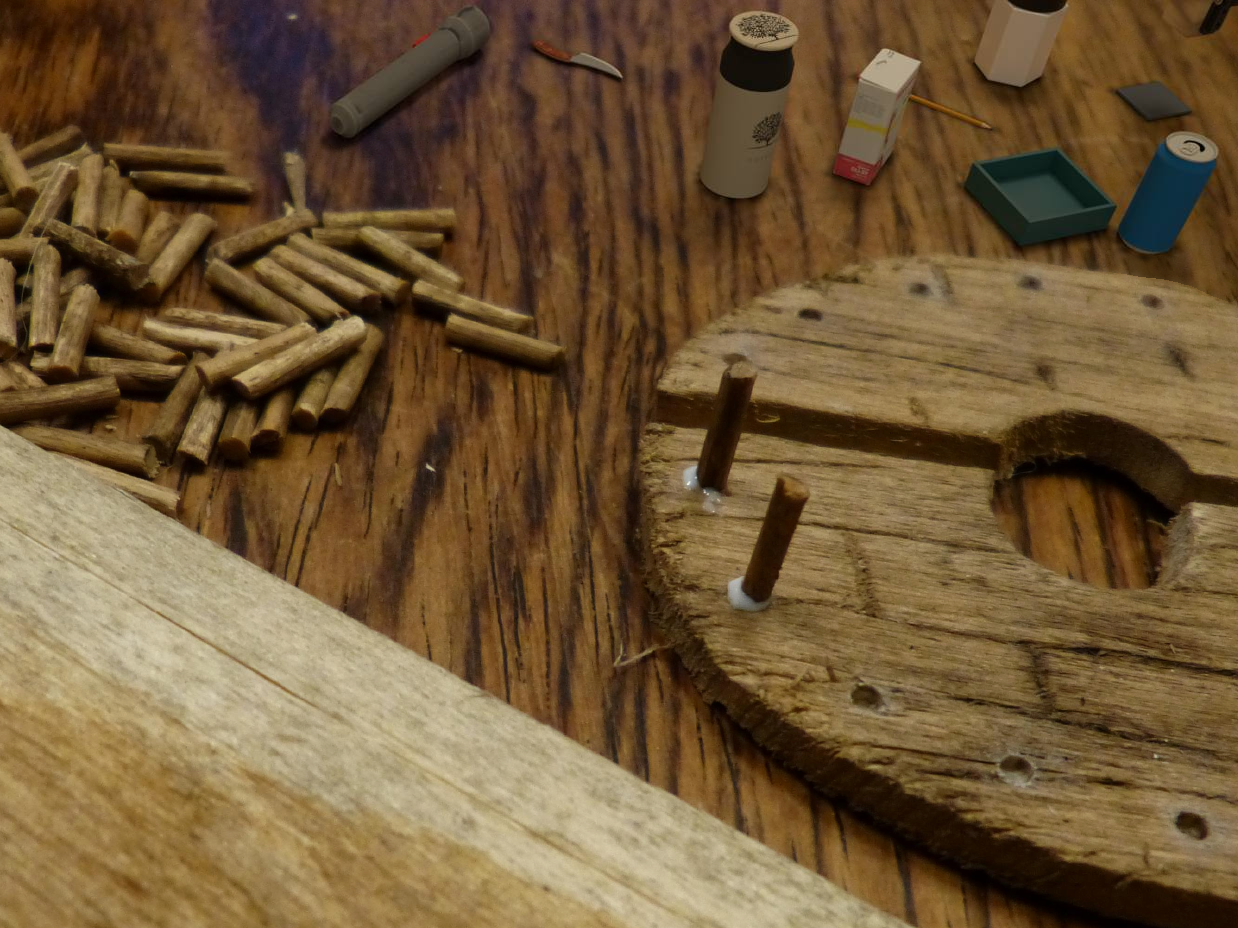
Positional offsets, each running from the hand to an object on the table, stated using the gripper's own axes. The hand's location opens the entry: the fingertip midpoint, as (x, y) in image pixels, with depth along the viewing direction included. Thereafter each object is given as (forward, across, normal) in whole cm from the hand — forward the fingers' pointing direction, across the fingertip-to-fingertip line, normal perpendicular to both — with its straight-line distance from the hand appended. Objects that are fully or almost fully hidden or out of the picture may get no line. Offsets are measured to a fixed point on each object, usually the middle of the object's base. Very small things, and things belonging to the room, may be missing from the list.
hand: (1192, 20), depth 157 cm
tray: (+11, -16, +29) cm, 35 cm away
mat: (+11, 0, 0) cm, 11 cm away
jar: (+11, +12, +15) cm, 22 cm away
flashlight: (+11, +27, +93) cm, 97 cm away
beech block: (+1, 0, 0) cm, 1 cm away
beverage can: (+11, -25, +20) cm, 34 cm away
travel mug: (+11, -1, +62) cm, 63 cm away
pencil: (+11, +8, +30) cm, 33 cm away
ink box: (+11, -2, +45) cm, 46 cm away
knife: (+11, +28, +70) cm, 76 cm away
